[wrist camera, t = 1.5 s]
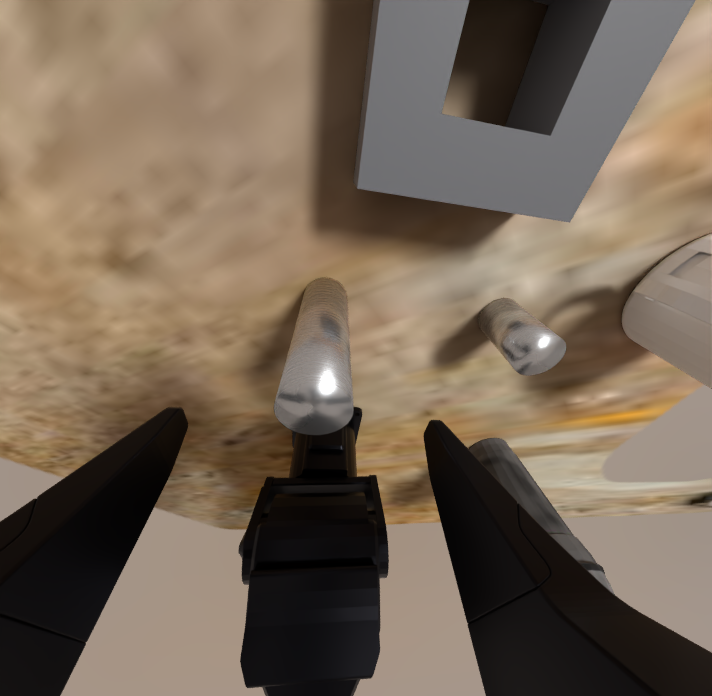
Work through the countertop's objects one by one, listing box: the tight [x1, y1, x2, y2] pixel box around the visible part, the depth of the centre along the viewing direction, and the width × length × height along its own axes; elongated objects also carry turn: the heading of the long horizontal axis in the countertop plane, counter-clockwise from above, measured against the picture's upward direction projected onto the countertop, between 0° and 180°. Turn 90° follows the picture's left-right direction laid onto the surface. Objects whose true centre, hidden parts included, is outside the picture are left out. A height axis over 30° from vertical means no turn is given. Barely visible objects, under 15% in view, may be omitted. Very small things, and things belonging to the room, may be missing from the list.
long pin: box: [274, 277, 354, 435], centre depth 14 cm, size 3×3×10 cm
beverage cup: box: [469, 438, 615, 595], centre depth 22 cm, size 7×7×20 cm
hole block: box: [353, 0, 695, 222], centre depth 10 cm, size 10×10×4 cm
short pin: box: [478, 298, 566, 375], centre depth 17 cm, size 3×3×5 cm
